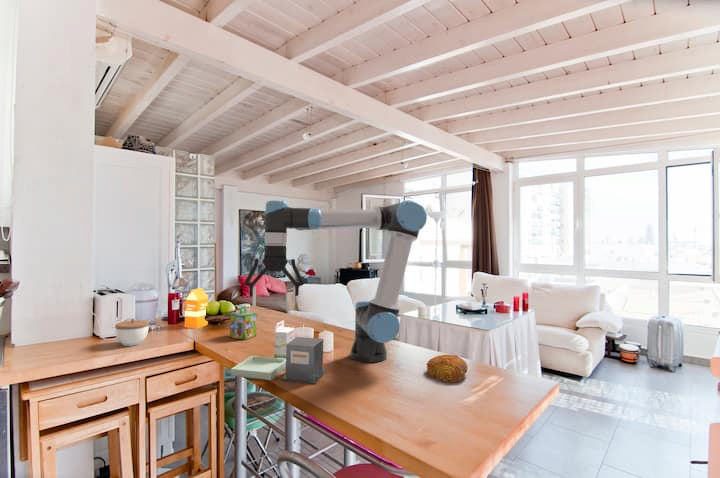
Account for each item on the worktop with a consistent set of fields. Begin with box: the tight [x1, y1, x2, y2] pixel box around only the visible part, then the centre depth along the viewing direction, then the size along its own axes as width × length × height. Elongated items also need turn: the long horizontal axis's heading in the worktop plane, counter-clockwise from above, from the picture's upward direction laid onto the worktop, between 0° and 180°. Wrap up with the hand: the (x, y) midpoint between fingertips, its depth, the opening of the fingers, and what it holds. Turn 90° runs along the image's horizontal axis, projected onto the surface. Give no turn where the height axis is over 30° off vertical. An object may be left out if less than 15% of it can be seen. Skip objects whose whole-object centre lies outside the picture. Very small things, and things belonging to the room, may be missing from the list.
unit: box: [281, 336, 327, 385], centre depth 125 cm, size 12×12×12 cm
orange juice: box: [184, 287, 209, 329], centre depth 193 cm, size 8×9×20 cm
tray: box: [230, 355, 286, 381], centre depth 130 cm, size 15×15×2 cm
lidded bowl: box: [114, 318, 150, 347], centre depth 158 cm, size 13×13×11 cm
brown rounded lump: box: [426, 354, 468, 383], centre depth 130 cm, size 14×16×8 cm
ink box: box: [273, 319, 295, 359], centre depth 143 cm, size 9×5×15 cm, turn 168°
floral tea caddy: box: [229, 305, 258, 341], centre depth 174 cm, size 9×9×15 cm
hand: (274, 305), depth 125 cm, fingers open, 13 cm apart
